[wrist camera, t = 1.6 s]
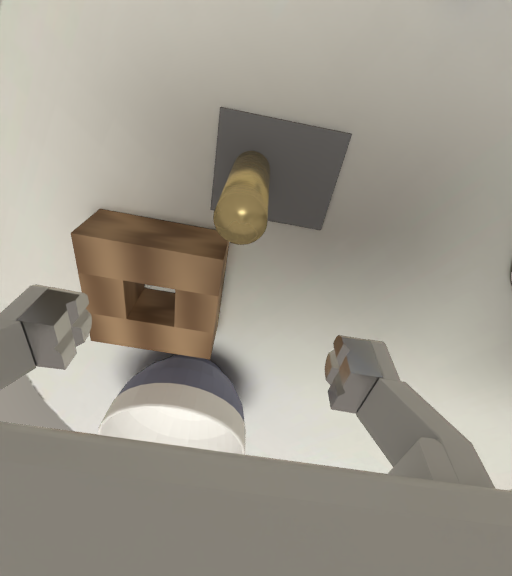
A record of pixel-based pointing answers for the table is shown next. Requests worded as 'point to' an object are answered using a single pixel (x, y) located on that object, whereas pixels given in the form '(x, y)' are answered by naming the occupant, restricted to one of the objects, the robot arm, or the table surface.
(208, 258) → the hole block
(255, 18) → the table surface
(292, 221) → the rubber mat
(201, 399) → the bowl
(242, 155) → the brass peg
